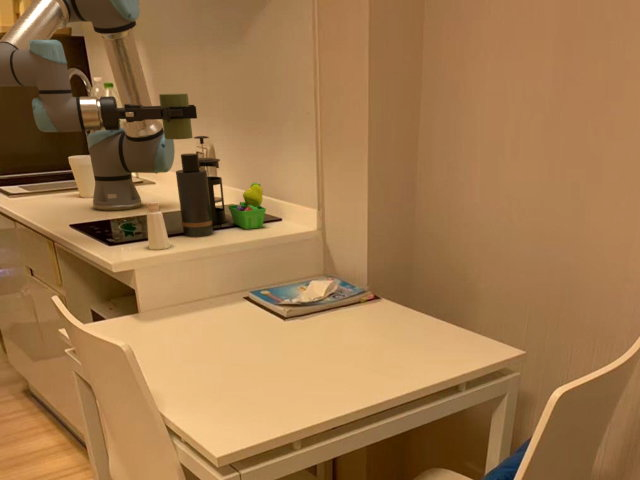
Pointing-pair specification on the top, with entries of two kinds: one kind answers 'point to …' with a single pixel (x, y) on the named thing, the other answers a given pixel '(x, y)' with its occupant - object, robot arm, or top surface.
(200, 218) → the flask
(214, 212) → the french press
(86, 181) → the foam cup
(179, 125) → the olive tea canister
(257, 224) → the fruit basket
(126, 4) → the robot arm
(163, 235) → the salt shaker
